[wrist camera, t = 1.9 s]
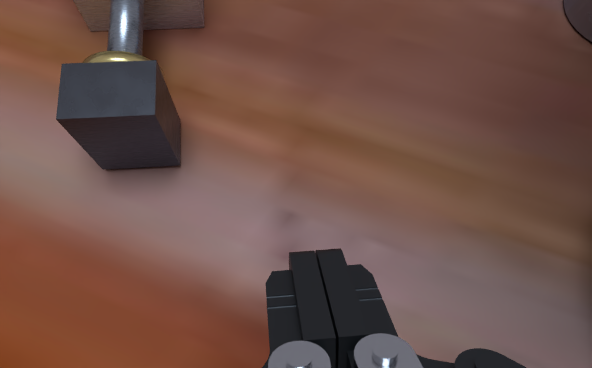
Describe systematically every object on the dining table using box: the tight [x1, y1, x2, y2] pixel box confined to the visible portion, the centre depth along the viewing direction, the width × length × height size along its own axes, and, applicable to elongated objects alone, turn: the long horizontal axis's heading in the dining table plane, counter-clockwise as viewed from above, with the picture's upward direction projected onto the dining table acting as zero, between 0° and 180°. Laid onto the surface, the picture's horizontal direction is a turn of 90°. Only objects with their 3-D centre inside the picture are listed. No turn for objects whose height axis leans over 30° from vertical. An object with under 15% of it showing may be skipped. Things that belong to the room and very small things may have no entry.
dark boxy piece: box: [56, 0, 180, 169], centre depth 36 cm, size 18×6×8 cm, turn 4°
